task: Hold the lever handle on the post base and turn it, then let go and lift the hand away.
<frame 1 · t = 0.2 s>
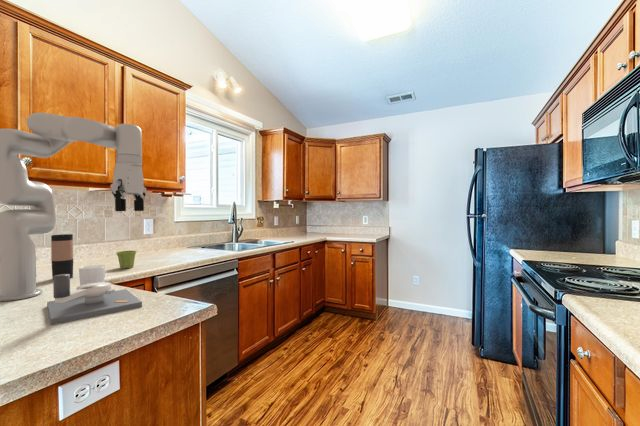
hand: (130, 211, 104), 31 cm above the worktop, tool pointing down, fingers open, 9 cm apart
lever handle: (86, 283, 94), point 9 cm above the worktop, hinge at 0.0°
plant pot: (126, 268, 164), on the worktop
post base: (94, 306, 98), on the worktop
white cup: (92, 293, 114), on the worktop
travel mug: (62, 278, 138), on the worktop
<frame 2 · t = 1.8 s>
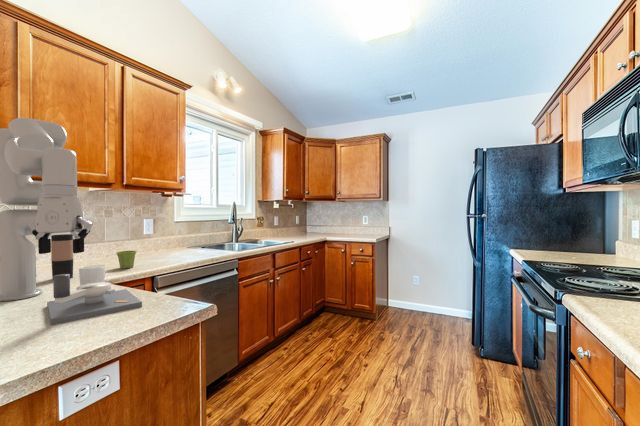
hand: (61, 253, 85), 19 cm above the worktop, tool pointing down, fingers open, 9 cm apart
nothing on the worktop moved.
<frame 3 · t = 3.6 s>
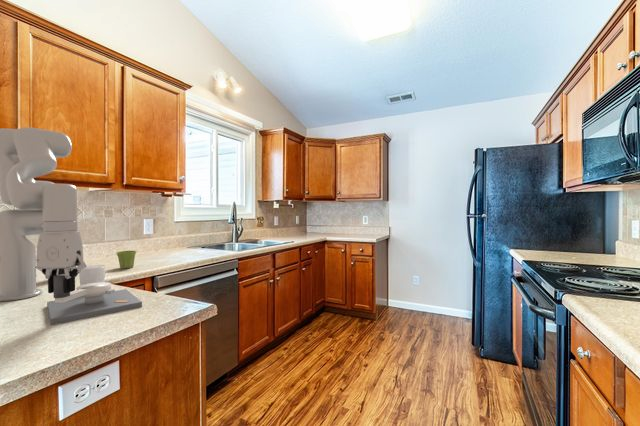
hand: (61, 291, 86), 8 cm above the worktop, tool pointing down, fingers closed on lever handle, 3 cm apart
lever handle: (86, 283, 94), point 9 cm above the worktop, hinge at 0.0°, touching gripper
everything else where it was.
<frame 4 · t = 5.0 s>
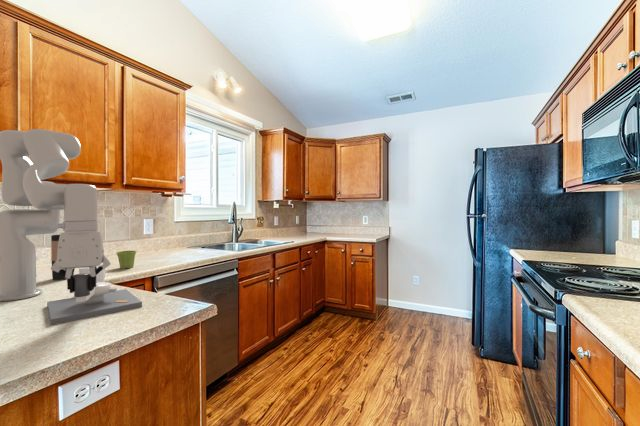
hand: (82, 290, 87), 8 cm above the worktop, tool pointing down, fingers closed on lever handle, 3 cm apart
lever handle: (93, 282, 95), point 9 cm above the worktop, hinge at 24.5°, touching gripper
everything else where it was.
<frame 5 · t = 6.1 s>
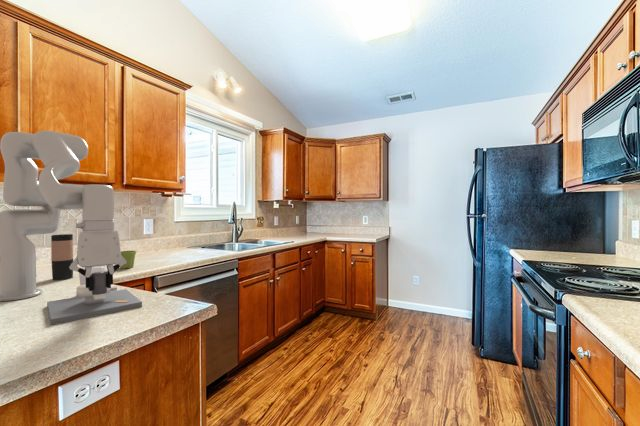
hand: (99, 288, 89), 8 cm above the worktop, tool pointing down, fingers closed on lever handle, 3 cm apart
lever handle: (98, 281, 96), point 9 cm above the worktop, hinge at 43.8°, touching gripper
everything else where it was.
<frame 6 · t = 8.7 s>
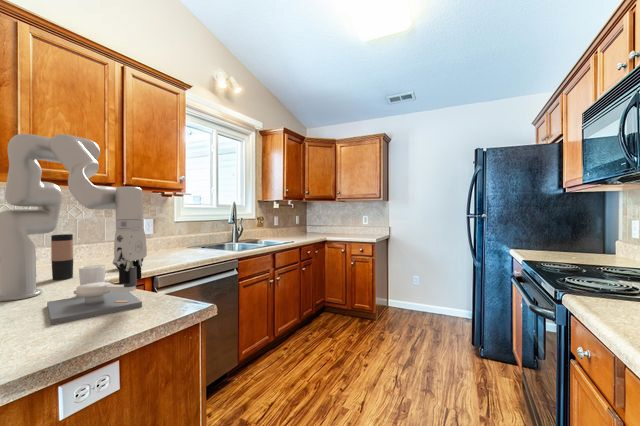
hand: (130, 280, 98), 8 cm above the worktop, tool pointing down, fingers open, 5 cm apart
lever handle: (107, 279, 98), point 9 cm above the worktop, hinge at 88.6°
everything else where it was.
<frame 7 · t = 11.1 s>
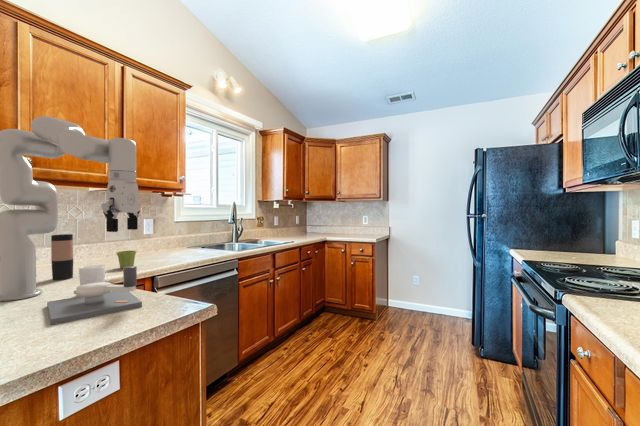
hand: (122, 230, 98), 25 cm above the worktop, tool pointing down, fingers open, 9 cm apart
nothing on the worktop moved.
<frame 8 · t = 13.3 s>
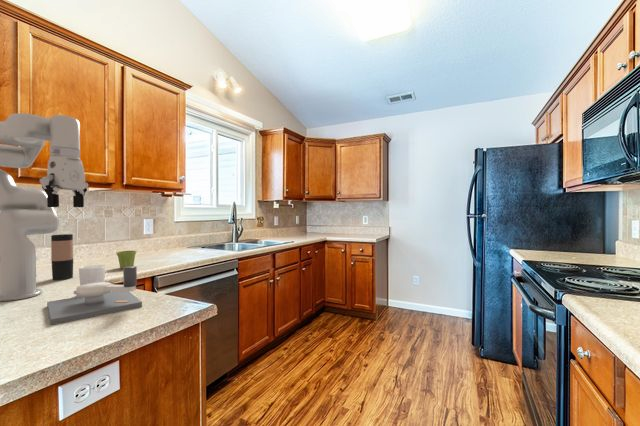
hand: (66, 207, 99), 32 cm above the worktop, tool pointing down, fingers open, 9 cm apart
nothing on the worktop moved.
at the end: lever handle at +89° (first picture: +0°); the gripper is holding nothing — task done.
